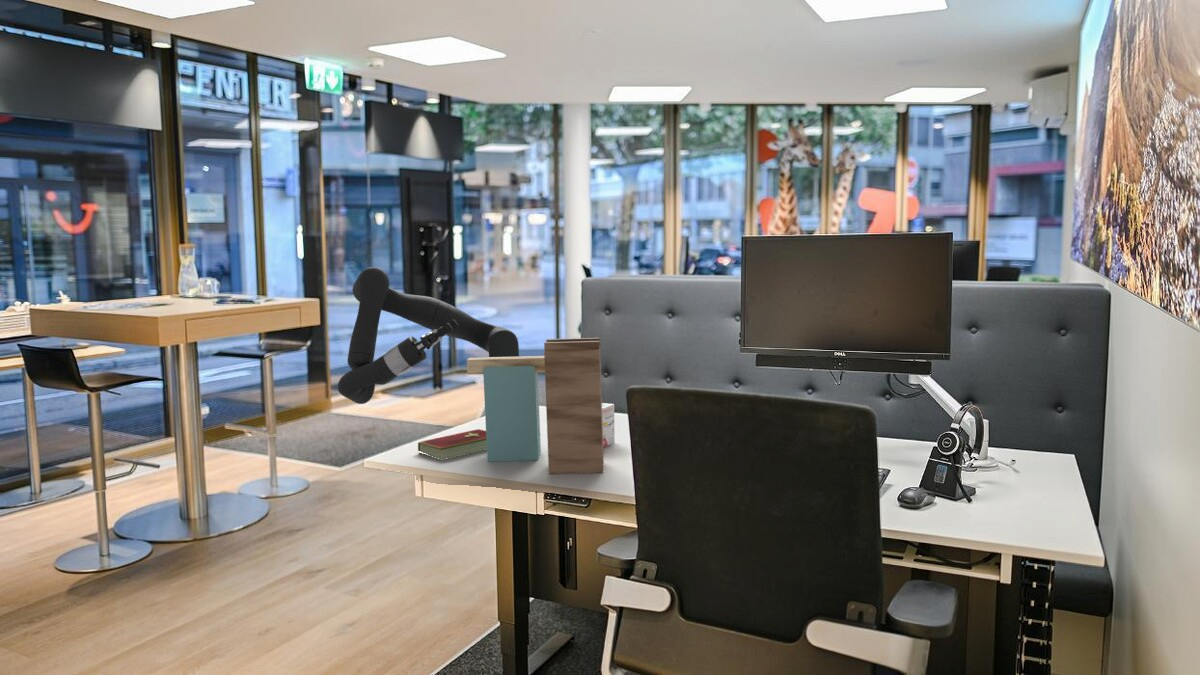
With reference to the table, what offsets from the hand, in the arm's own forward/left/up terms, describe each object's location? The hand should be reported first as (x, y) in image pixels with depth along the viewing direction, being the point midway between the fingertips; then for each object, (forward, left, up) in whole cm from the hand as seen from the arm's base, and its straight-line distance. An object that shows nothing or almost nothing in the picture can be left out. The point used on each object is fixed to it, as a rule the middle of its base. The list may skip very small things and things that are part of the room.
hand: (453, 324), depth 235 cm
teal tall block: (-1, +15, -38) cm, 41 cm away
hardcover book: (-10, -2, -38) cm, 40 cm away
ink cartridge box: (-12, +39, -38) cm, 56 cm away
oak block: (-1, +16, -14) cm, 21 cm away
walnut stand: (+12, +33, -38) cm, 52 cm away
